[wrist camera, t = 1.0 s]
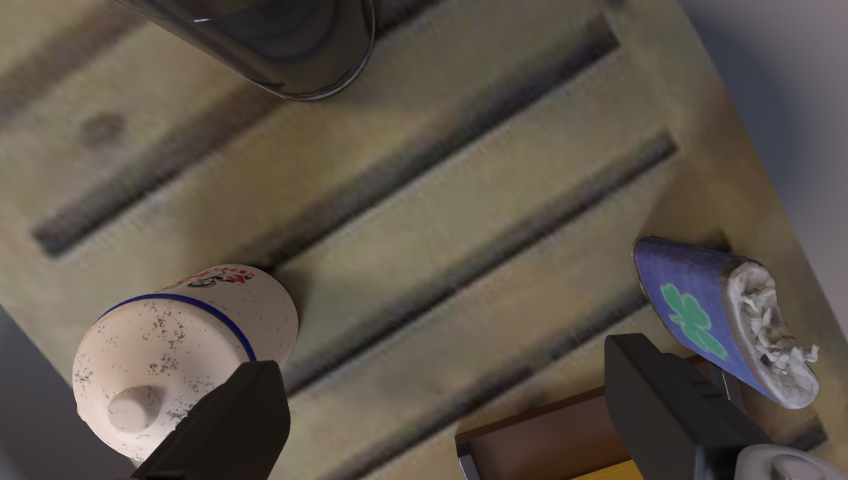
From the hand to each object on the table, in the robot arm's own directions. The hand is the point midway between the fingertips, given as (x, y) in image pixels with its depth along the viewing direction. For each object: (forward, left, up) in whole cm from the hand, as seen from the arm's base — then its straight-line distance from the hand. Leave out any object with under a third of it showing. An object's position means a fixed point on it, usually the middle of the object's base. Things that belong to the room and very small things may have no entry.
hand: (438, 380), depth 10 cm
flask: (+9, +15, -19) cm, 26 cm away
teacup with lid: (+1, -16, -19) cm, 25 cm away
